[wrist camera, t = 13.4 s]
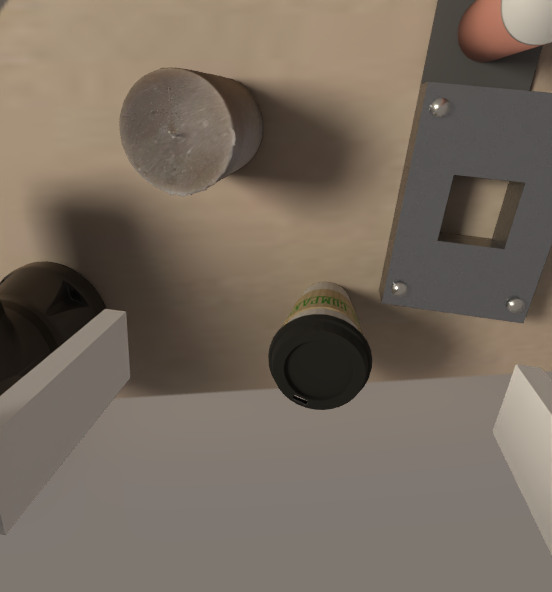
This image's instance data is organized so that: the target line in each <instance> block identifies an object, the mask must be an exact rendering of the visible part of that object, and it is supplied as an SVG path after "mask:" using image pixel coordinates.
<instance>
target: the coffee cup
mask: <svg viewBox="0 0 552 592" xmlns="http://www.w3.org/2000/svg"><path fill="white" fill-rule="evenodd" d="M269 367H270V371H271V374H272V376H273V378H274V380H275V382H276V384H277V386H278V387H279V389H280V390H281V391H282V393H283V394H284V395H285V396H286V397H287V398H289V399H290V400H291V401H293V402H295V403H296V404H298V405H301V406H304V407H306V408H311V409H317V410H318V409H319V410H326V409H333V408H336V407H340V406H342V405H344V404H346V403H348V402H349V401H350V400H352V399H353V398H354V397H355V396H356V395H357V394H358V393H359V392H360V390H361V389H362V388H363V387H364V385H365V384H366V382H367V380H368V378H369V375H370V372H371V368H372V355H371V350H370V347H369V345H368V342H367V340H366V339H365V338H364V336H363V334H362V331H361V328H360V325H359V322H358V319H357V316H356V313H355V310H354V308H353V305H352V304H351V301H350V298H349V296H348V294H347V293H346V291H345V290H344V289H343V288H342V287H340V286H339V285H337V284H334V283H331V282H319V283H316V284H313V285H311V286H310V287H308V288H307V289H306V290H305V292H304V293H303V295H302V297H301V298H300V299H299V300H298V301H297V303H296V304H295V306H294V308H293V310H292V311H291V313H290V315H289V316H288V318H287V320H286V321H285V323H284V325H283V327H282V328H281V329H280V330H278V332H277V333H276V335H275V336H274V338H273V340H272V342H271V345H270V349H269ZM294 395H297V396H299V397H301V398H303V399H305V400H303V399H300V398H298V397H296V396H294ZM306 400H307V401H306Z"/></svg>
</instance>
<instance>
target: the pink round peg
mask: <svg viewBox="0 0 552 592" xmlns="http://www.w3.org/2000/svg"><path fill="white" fill-rule="evenodd" d="M457 36H458V43H459V46H460V49H461V51H462V52H463V53H464V55H465V56H466V57H468V58H469V59H471V60H473V61H476V62H490V61H493V60H497V59H500V58H503V57H506V56H509V55H512V54H516V53H519V52H522V51H525V50H528V49H531V48H535V47H538V46H541V45H544V44H547V43H551V42H552V0H476V1H475V2H473V3H472V4H471V5H470V6H469V7H468V9H467V10H466V11H465V13H464V14H463V16H462V18H461V20H460V23H459V27H458V35H457Z"/></svg>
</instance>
